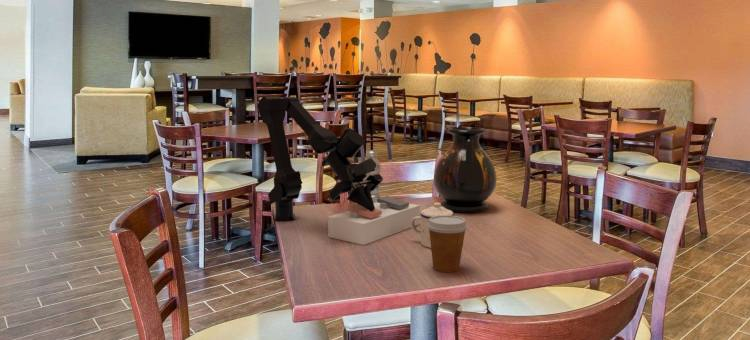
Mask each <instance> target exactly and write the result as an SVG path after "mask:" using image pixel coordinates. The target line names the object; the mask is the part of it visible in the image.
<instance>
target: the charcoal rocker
mask: <svg viewBox="0 0 750 340" xmlns="http://www.w3.org/2000/svg"><path fill="white" fill-rule="evenodd" d="M377 202H378V203H387V206H390V207H393V208H396V209H402V208H406V207H409V204H410V202H408V201H404V200H401V199H398V198H395V197H392V196H389V195H385V196H381V198H377Z"/></svg>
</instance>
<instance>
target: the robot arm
mask: <svg viewBox="0 0 750 340" xmlns="http://www.w3.org/2000/svg"><path fill="white" fill-rule="evenodd" d="M257 111H258V113H259V116H260V119H261V120H262V122H263V123H264V124H265V125H266V126H267V131H268V136H269V141H270V144H271V150H272V154H273V161H274V165H275V168H276V171H275V174H274V177H273V188H271V190H270V191H269V193H268V194H267V197H268V200H269V202H272V203H273V202H274V204H275V205H274V206H275V208H274V211H275V213H274V216H273V221H295V219H296V218H295V217H296V215H295V213H294V200H295V199H299V198H300V193H301V190H302V188H303V187H302V184H303V180H302V177H301V172H300V171H296V170H295V169H294V167H292V161H291V156H290V155H291V154H290V151H289V147H288V142H287V137H286V132H285V127H284V121H285V118H286V114H288V115H289V116H290V117H291V119H293V121H294V122H295V124H297V126H298V127H299V128H300V129H301V130H302V131H303V132H304V133H305V134H306V135H307V140H308V141H307V142H308V144H309V145H310V146H311V148H312V150H313V152H314V153H316V154H317V155H318V154H322V155H323V154H327V153H328V154H327V156H323V157H322V161H321V167H326V166H329V167H330V168H331V170H332V171H333V173H334V175H336V176H334V179H335V181H337V182H336V184H335V185H334V186H333V187H332V188H331V189H330V191H329V198H330V200H331V201H332V202H336V201H337V202H338V201H340V200H341V194H344V193H345V194H347V195H348V197H347V198H346V200H347V201H351V202H353V203H355V204H356V205H357V204H359V205H361V206H363V207H365V208H366V209H368V210H370V211H373V210H374V209H375V207H374V203H373V200H372V196H371V192H372V191H373V190H374V189H375V188H376V187H377V186H378V185H379V186H380V184H382V182H383V181H384V178H383V177H382V175H381V173H380V174H373V175H369V176H368V177H367V179H366V180H365V181H364V178H366V176H367V175H366V174H367V173H370V172H373V171H375V168H376V163H375V161H374V160H373V159H372V158H369V159H367V160H365V159H364V160H363V161H361V162H359V163H353V162H351V160H350V159H352V158H354V157H355V156H356V155H357V153H358V152H359V151H360V150H361V148H362V147H363V146H364V145H365V143H366V141H365V138H364V136H363V135H361V134H360V133H358V132H357V131H355V130H353V129H352V128H351V127H349V128H348V127H347V128H345V129H344V130H343V132H342V135H340V137H338V136H337V134H335V132H333V131H331V130H330V129H328V128H326V127H324V126H322V125H321V124H320V123H319V122H318V121H317V120H316V119H315V118H314V117H313V116H312V114H310V112H309V111H308V109H306V108H305V107H304V106H303V104H301V102H300V100H299V98H298V97H296V96H284V97H282V98H281V97H280V96H271V97H270V96H269V97H266V96H265V97H261V98H260V100H259V101H258V103H257ZM286 112H287V113H286Z"/></svg>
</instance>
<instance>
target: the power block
mask: <svg viewBox="0 0 750 340" xmlns="http://www.w3.org/2000/svg"><path fill="white" fill-rule="evenodd" d="M374 207H375V209H377V210H380V211H382V214H381V215H380V216H376V217H373V218H368V217H365V216H362V215H359V214H358V212H354V211H351V212H349V211H348V210H346V211H343V212H339V213H335V214H332V215H329V216H327V217H328V218H327V220H328V221H327V223H328V225H327V227H328V228H327V229H328V231H327V236H328V238H333V239H336V240H339V241H345V242H348V243H349V242H350V243H353V244H358V245H363V246H364V245H368V244H370V243H373V242H375V241H379V240H381V239H384V238H386V237H389V236H392V235H394V234H397V233H400V232H403V231H404V230H407V229H412V227H411V221H412V219H413V218H414V217H416V216H421V215H420V213H421V205H420V204H414V203H409V207H406V208H402V209H396V208H393V207H390V206H387V203H378V202H377V203H374ZM414 225H415V227H416V226H418V225H421V219H415V221H414Z"/></svg>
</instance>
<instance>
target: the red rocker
mask: <svg viewBox="0 0 750 340" xmlns="http://www.w3.org/2000/svg"><path fill="white" fill-rule="evenodd" d="M347 211H349V212H351V211H354V212H358V214H359V215H362V216H365V217H368V218H373V217H376V216H380V215H381V214H382V211H380V210H377V209H374V210H373V211H370V210H368V209H366V208H365V207H363V206H361V205H359V204H357V203H356V204H354V205H350V206H348V207H347Z"/></svg>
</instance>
